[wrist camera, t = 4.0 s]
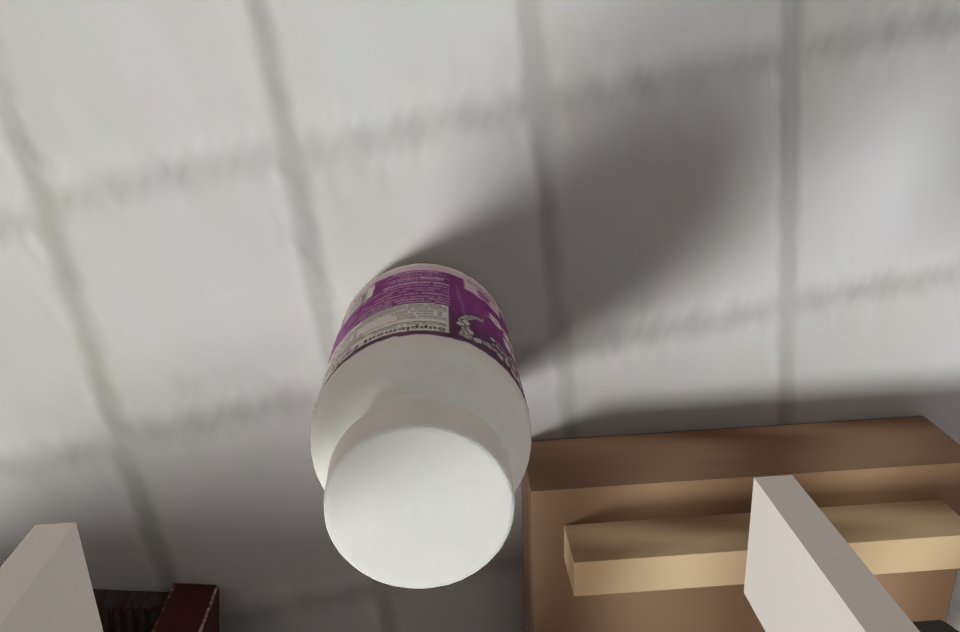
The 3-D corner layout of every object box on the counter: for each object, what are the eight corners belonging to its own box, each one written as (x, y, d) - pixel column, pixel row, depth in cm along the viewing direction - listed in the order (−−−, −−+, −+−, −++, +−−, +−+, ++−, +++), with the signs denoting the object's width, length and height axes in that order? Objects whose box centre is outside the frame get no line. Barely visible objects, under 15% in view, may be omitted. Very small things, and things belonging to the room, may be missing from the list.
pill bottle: (529, 382, 26) (582, 575, 17) (378, 433, 26) (350, 649, 17) (475, 232, 24) (502, 360, 15) (313, 289, 24) (244, 448, 15)
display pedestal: (527, 710, 31) (543, 827, 26) (520, 441, 27) (538, 527, 22) (875, 682, 31) (949, 793, 27) (923, 416, 27) (1020, 493, 23)
